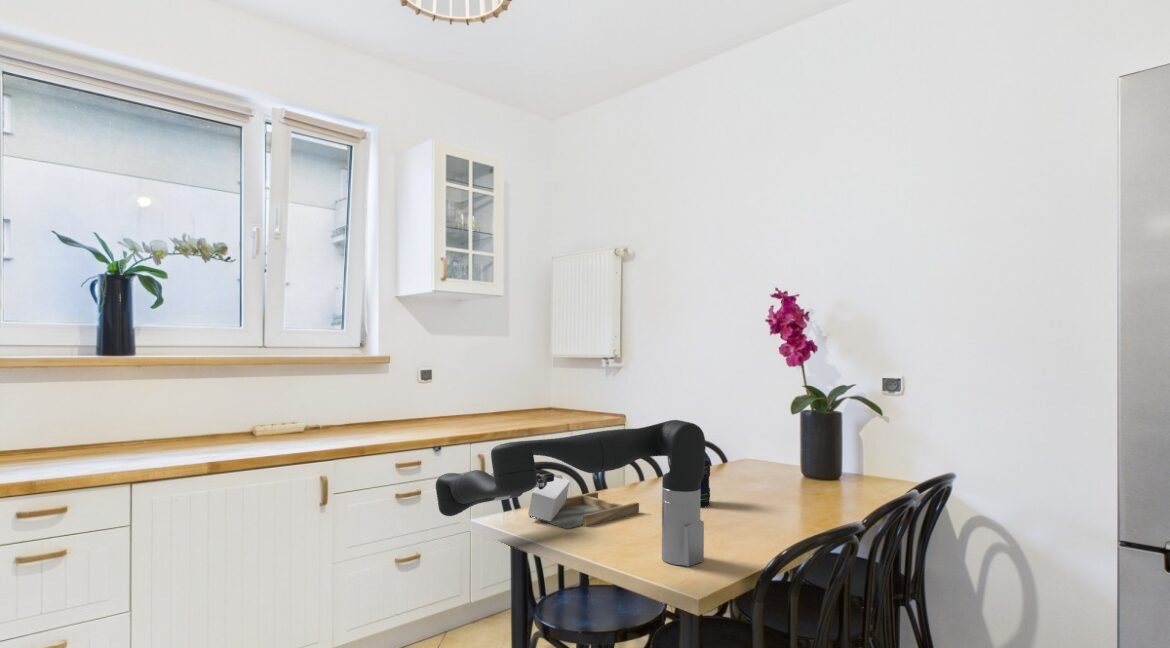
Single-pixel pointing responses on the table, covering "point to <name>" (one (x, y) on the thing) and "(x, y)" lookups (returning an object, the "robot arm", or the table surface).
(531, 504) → the milk carton
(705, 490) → the dark blue barrel
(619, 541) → the table surface
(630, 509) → the tray
